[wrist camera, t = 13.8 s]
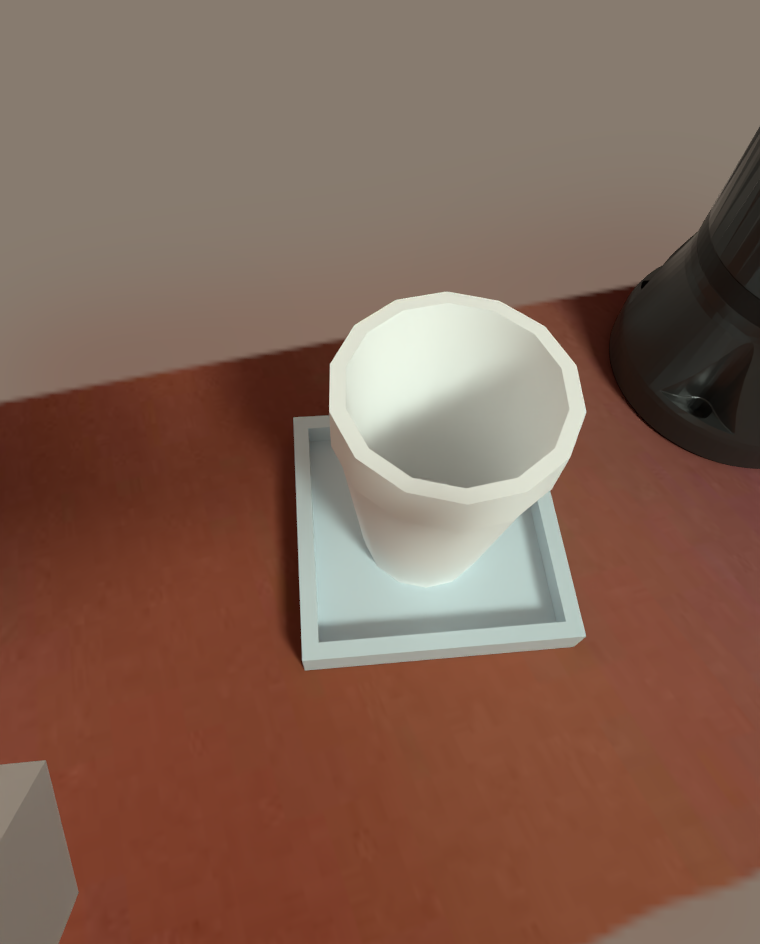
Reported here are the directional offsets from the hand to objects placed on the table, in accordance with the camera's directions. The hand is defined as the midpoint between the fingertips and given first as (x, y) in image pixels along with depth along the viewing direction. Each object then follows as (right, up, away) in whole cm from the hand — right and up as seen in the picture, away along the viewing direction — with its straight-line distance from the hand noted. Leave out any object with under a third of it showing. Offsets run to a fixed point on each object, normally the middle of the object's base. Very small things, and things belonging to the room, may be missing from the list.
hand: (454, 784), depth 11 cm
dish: (+1, +2, +25) cm, 25 cm away
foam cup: (+1, +2, +24) cm, 24 cm away
